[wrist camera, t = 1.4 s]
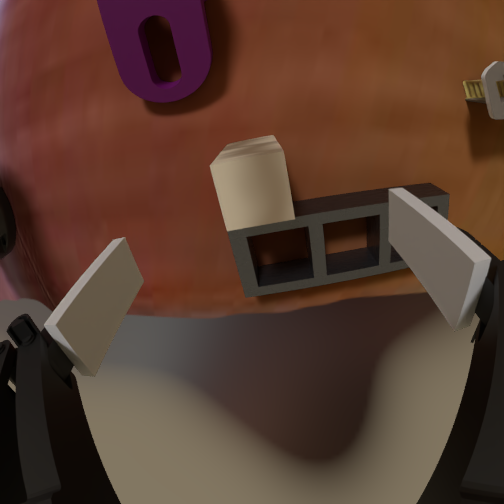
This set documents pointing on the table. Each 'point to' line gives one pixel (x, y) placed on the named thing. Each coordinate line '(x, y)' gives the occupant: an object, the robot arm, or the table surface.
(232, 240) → the dark grey long frame
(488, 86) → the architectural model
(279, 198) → the peg
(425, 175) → the table surface
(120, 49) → the mounting bracket
